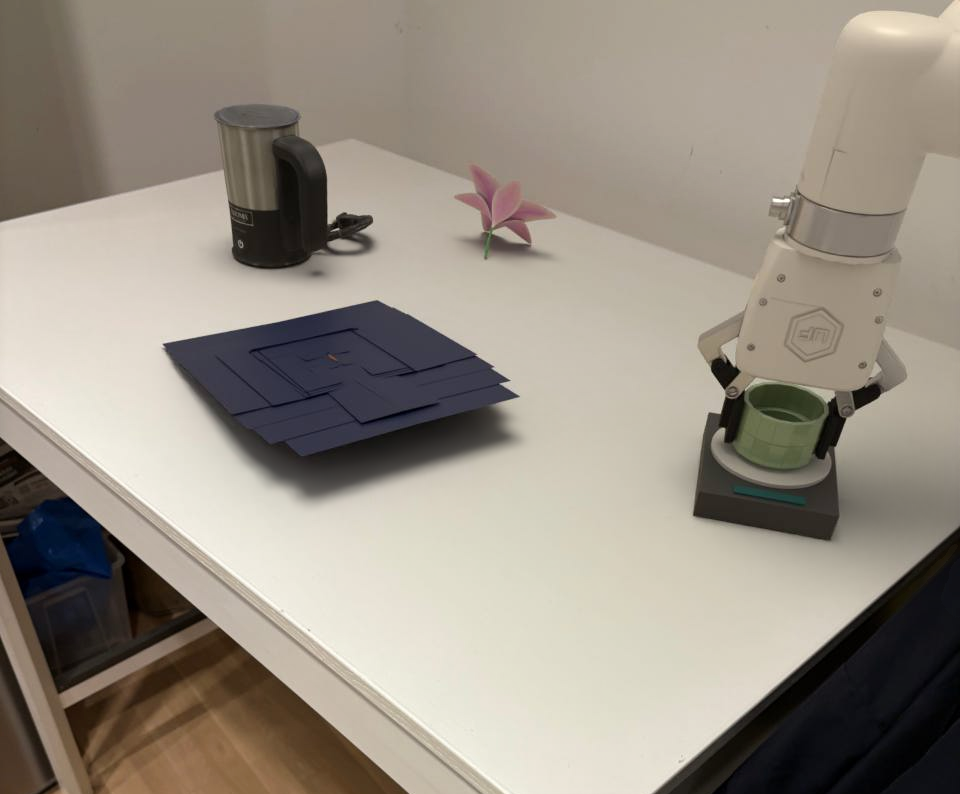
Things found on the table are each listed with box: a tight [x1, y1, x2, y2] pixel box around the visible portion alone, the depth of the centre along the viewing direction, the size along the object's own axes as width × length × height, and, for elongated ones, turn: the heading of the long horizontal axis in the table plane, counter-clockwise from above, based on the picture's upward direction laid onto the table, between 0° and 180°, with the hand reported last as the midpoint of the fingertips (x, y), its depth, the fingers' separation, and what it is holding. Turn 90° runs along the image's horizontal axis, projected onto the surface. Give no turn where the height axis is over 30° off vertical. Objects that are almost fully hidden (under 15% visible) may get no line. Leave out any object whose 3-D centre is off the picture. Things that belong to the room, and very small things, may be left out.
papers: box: [162, 299, 521, 458], centre depth 87 cm, size 24×30×4 cm
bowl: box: [732, 381, 829, 470], centre depth 77 cm, size 7×7×5 cm
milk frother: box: [212, 102, 374, 268], centre depth 106 cm, size 14×16×15 cm
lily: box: [453, 160, 558, 260], centre depth 112 cm, size 12×12×10 cm
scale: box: [692, 411, 840, 541], centre depth 79 cm, size 11×13×3 cm
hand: (774, 441), depth 78 cm, fingers closed on bowl, 6 cm apart
